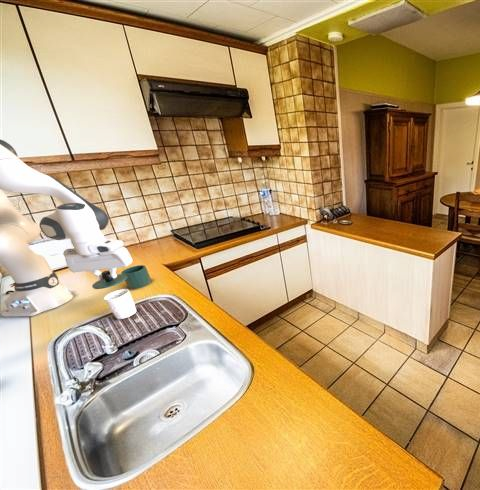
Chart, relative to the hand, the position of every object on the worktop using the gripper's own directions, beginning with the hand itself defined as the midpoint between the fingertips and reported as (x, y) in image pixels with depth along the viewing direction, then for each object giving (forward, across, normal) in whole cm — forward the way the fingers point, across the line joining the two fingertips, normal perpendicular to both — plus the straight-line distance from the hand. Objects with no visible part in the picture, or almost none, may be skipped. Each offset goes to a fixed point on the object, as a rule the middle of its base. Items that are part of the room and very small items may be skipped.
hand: (108, 278), depth 105 cm
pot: (+17, -11, +27) cm, 34 cm away
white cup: (+18, 0, 0) cm, 18 cm away
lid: (+2, 0, 0) cm, 2 cm away
